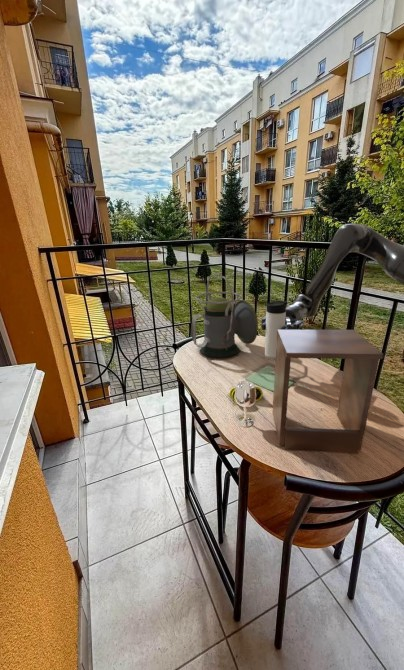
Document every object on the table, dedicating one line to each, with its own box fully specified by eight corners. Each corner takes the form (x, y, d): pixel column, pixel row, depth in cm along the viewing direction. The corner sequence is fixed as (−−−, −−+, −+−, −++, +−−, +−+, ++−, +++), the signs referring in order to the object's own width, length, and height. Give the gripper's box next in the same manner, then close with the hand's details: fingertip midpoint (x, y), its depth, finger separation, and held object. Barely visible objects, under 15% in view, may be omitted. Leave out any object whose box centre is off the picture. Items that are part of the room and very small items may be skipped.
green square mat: (267, 366, 111) (267, 365, 111) (300, 378, 101) (300, 377, 101) (245, 379, 102) (245, 378, 102) (278, 394, 92) (278, 393, 92)
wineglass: (241, 431, 76) (242, 393, 72) (231, 419, 81) (231, 382, 77) (259, 424, 78) (260, 387, 74) (248, 413, 83) (248, 378, 79)
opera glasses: (256, 395, 94) (255, 381, 93) (263, 401, 89) (262, 386, 88) (229, 401, 91) (227, 386, 90) (235, 407, 86) (233, 391, 85)
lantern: (265, 354, 122) (268, 273, 110) (204, 368, 112) (201, 280, 100) (236, 336, 143) (237, 267, 131) (183, 347, 133) (178, 272, 121)
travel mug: (282, 361, 95) (285, 304, 87) (262, 358, 97) (264, 303, 90) (285, 354, 100) (289, 299, 93) (267, 351, 103) (269, 298, 95)
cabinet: (272, 412, 83) (277, 329, 74) (341, 414, 81) (354, 329, 72) (279, 449, 69) (286, 352, 60) (363, 454, 67) (383, 354, 58)
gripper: (273, 304, 108) (253, 315, 96) (311, 308, 100) (294, 321, 88) (272, 322, 111) (252, 335, 98) (309, 328, 103) (293, 343, 90)
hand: (272, 329), depth 93 cm, fingers closed on travel mug, 6 cm apart
